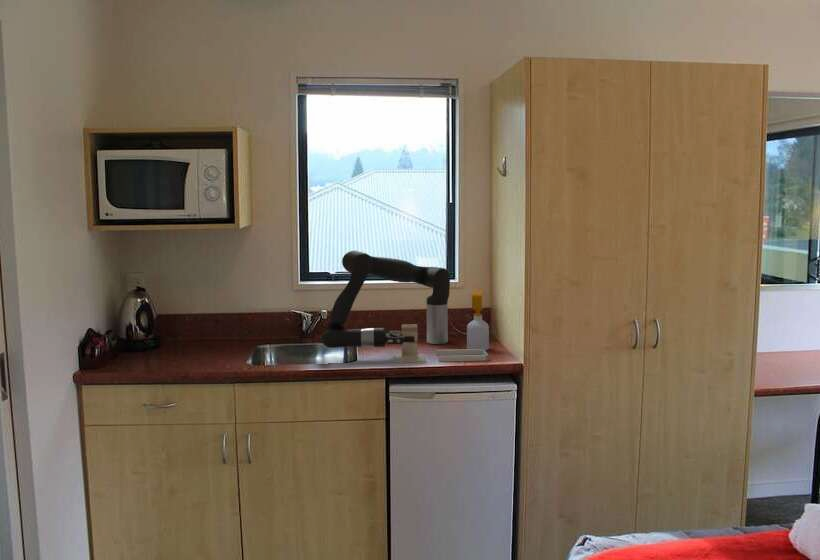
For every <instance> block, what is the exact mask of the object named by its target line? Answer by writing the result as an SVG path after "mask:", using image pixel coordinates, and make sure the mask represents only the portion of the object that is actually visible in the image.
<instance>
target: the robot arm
mask: <svg viewBox="0 0 820 560" xmlns="http://www.w3.org/2000/svg"><path fill="white" fill-rule="evenodd" d="M341 263H342V266H343V268H344V269H345V270H346V271H347V273H350V277H349V280H348V282H347V284H346V286H345V287H344V289H343V290H342V291H341V292H340V294H339V295H338V296H337V298H336V299H335V301H334V304H333V306H332V309H331V312H330V315H329V320H328V323H327V326H326V328H325V331H324V332H323V333H322V335H321V343H322V344H323V345H324V346H325V347H326V348H331V349H333V348H346V347H351V348H353V347H354V348H357V347H360V348H384V347H386V342H387V344H388V345H402V344H403V343H405V342H414V341H415V340H414V336H402V329H401V330H387V332H386V329H385V327H365V328H353V329H352V328H351V329H345V325H346V324H347V321H348V319H349V316H350V313H351V311H352V308H353V305H354V303H355V301H356V298H357V297H358V294H359V292H360V291H361V288H362V287H363V285H364V283H365V282H366V279H367V277H368V276H369V275H372V276H375V277H379V278H381V279H384V280H387V281H393V282H398V283H416V284H418V285H422V286H425V287H428V288H431V289H432V293H431V295H429V296H427V298H426V343H427V344H429V345H444V344H447V343H448V341H449V339H448V337H449V336H448V335H449V334H448V332H449V331H448V328H449V327H448V325H449V324H448V320H449V319H448V302H449V301H448V300H449V297H450V287H451V286H450V284H451V278H450V272H449V271H448V270H447V269H446V268H444V267H439V266H437V267H436V266H421V265H420V266H419V265H415V264H413V263H411V262H409V261H406V260H403V259H398V258H391V257H382V256H374V255H373V256H372V255H369V254H368V253H366V252H364V251H363V252H362V251H358V250H350V251H347V252H346V253H345V254H344V255H343V256H342V259H341Z"/></svg>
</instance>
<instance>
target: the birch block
mask: <svg viewBox="0 0 820 560" xmlns="http://www.w3.org/2000/svg"><path fill="white" fill-rule="evenodd" d="M401 330H402V336H414V340H415V341H414V342H405V343H403V344H401V354H402V359H418V354H419V352H418V347H419V346H418V341H419V340H418V336H419V335H418V334H419V333H418V332H419V331H418V324H417V323H416V324H415V323H414V324H413V323H412V324H411V323H410V324H409V323H408V324H407V323H405V324H401Z"/></svg>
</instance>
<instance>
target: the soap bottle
mask: <svg viewBox="0 0 820 560" xmlns="http://www.w3.org/2000/svg"><path fill="white" fill-rule="evenodd" d="M483 294H484V291H483V290H473V292H472V295H471V308H472V310H474V311H475V313H474V314H473V320H471V321H470V322H469V323H467V326H466V349H485V351H486V352H487V351H489V348H490V327H489V324H488V323H487V322H486V321H485V320H483V314H482V313H481V312H482V310H483V309H484V306H483Z"/></svg>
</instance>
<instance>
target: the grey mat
mask: <svg viewBox="0 0 820 560" xmlns="http://www.w3.org/2000/svg"><path fill="white" fill-rule="evenodd" d="M425 355H426V354H425V353H418V359H402V353H401V354H397V353H395V354H394V363H426V362H427V360H426V356H425Z"/></svg>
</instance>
